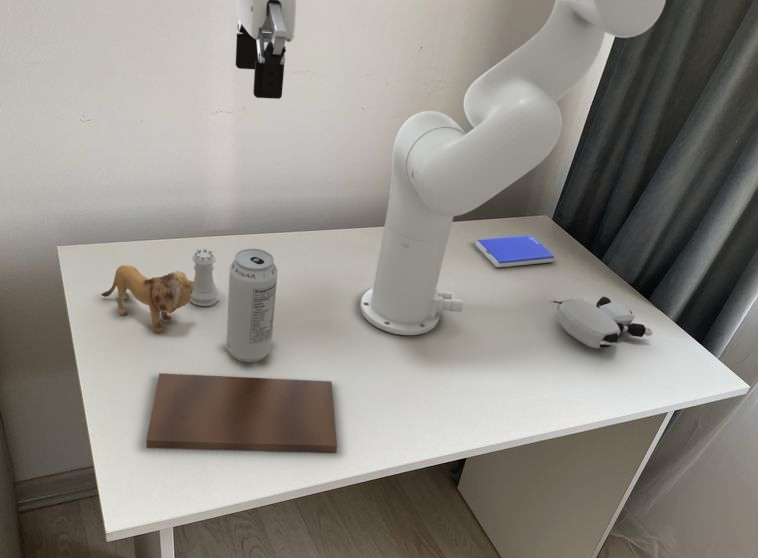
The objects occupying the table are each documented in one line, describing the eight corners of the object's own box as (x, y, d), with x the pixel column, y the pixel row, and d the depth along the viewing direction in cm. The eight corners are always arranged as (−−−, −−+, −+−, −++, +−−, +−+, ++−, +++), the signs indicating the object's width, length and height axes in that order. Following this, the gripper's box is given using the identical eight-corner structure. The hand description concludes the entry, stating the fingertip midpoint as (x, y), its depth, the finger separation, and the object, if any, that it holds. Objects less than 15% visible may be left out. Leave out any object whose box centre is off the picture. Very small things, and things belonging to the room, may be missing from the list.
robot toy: (598, 308, 129) (538, 319, 121) (608, 286, 127) (547, 296, 118) (650, 348, 122) (589, 363, 113) (661, 326, 119) (601, 339, 111)
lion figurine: (201, 323, 105) (201, 269, 99) (179, 342, 100) (179, 287, 95) (113, 290, 107) (109, 236, 102) (88, 307, 103) (83, 252, 98)
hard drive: (530, 234, 143) (477, 238, 137) (554, 255, 137) (499, 261, 132) (528, 241, 143) (475, 245, 138) (552, 262, 138) (497, 268, 133)
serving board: (330, 387, 98) (331, 381, 98) (336, 452, 89) (337, 445, 88) (159, 380, 94) (159, 373, 93) (146, 447, 84) (146, 440, 84)
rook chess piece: (222, 294, 111) (224, 248, 106) (213, 310, 108) (214, 263, 103) (193, 288, 111) (193, 242, 106) (183, 304, 107) (183, 257, 103)
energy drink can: (248, 332, 105) (253, 241, 96) (279, 352, 103) (288, 260, 94) (217, 350, 100) (219, 256, 92) (249, 370, 98) (255, 276, 89)
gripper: (325, -57, 73) (307, 111, 83) (281, -90, 85) (271, 60, 95) (250, -68, 70) (241, 108, 80) (216, -100, 82) (212, 56, 92)
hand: (257, 82), depth 88 cm, fingers open, 9 cm apart
